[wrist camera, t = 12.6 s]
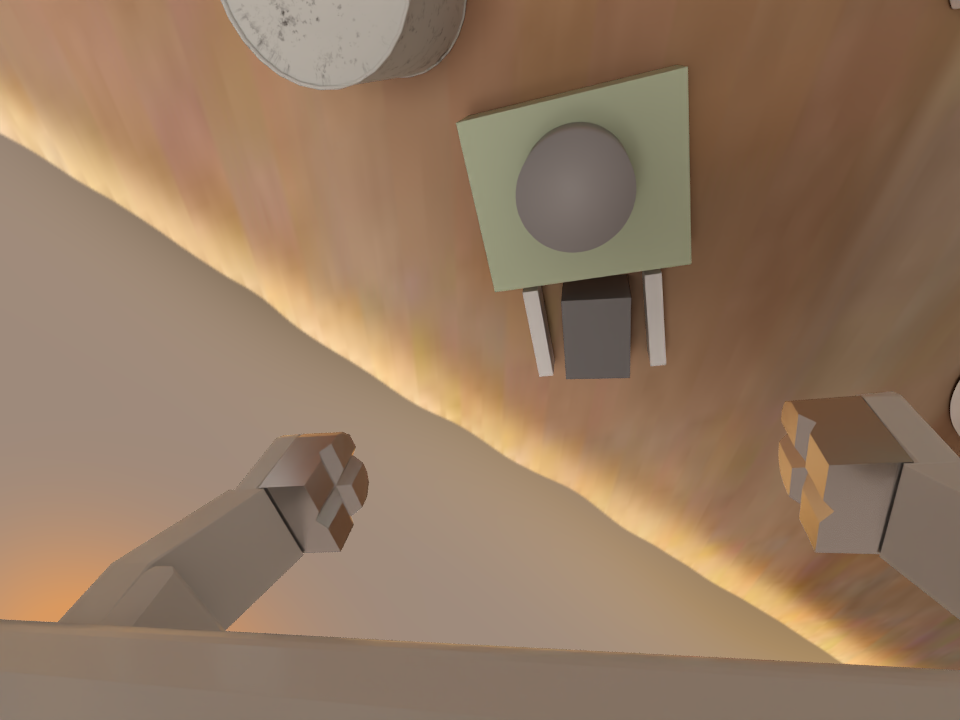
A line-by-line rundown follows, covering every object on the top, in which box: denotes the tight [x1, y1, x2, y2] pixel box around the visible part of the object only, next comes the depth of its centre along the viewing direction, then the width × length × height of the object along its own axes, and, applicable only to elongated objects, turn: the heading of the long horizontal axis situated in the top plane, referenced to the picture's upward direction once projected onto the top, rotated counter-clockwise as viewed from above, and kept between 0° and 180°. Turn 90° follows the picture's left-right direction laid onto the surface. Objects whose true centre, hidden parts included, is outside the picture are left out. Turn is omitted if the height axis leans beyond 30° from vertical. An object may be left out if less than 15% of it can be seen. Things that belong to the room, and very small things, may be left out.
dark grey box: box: [561, 274, 631, 379], centre depth 40 cm, size 5×7×4 cm
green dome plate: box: [456, 65, 691, 377], centre depth 35 cm, size 14×21×8 cm, turn 13°
